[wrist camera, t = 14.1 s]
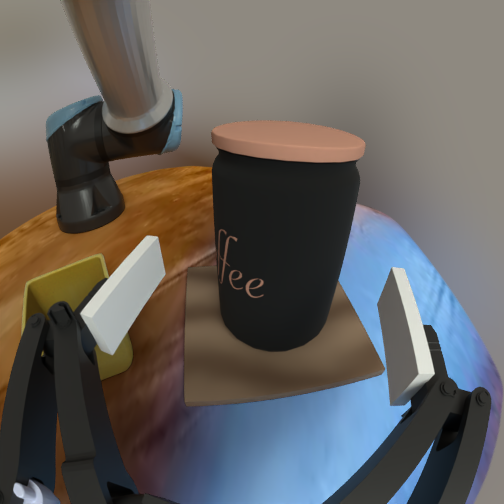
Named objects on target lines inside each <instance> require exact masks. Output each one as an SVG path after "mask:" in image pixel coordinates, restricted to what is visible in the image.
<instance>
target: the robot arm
mask: <svg viewBox="0 0 504 504" xmlns="http://www.w3.org/2000/svg"><path fill="white" fill-rule="evenodd" d="M60 1H61V4H62V6H63V9H64V12H65V14H66V16H67V19H68V21H69V24H70V26H71V29H72V31H73V33H74V35H75V38H76V40H77V42H78V45H79V47H80V49H81V52H82V54H83V56H84V58H85V61H86V63H87V65H88V67H89V69H90V71H91V73H92V76H93V78H94V80H95V82H96V84H97V86H98V88H99V90H100V92H101V94H102V96H103V98H104V100H105V101H103V99H102V98H101V96H99V95H98V96H93V97H90V98H87V99H84V100H81V101H78V102H76V103H73V104H71V105H68V106H66V107H64V108H62V109H60V110H58V111H56V112H54V113H53V114H51V116H49V117H48V119H47V121H46V136H47V138H46V141H47V143H48V149H49V154H50V159H51V165H52V169H53V174H54V178H55V182H56V187H57V211H56V217H57V222H58V225H59V228H60V230H61V231H63V232H66V233H81V232H86V231H89V230H93V229H96V228H98V227H101V226H103V225H105V224H107V223H109V222H111V221H112V220H114V219H115V218H117V217H118V216H119V215H120V214H121V213H122V212H123V210H124V208H125V204H124V199H123V195H122V193H121V191H120V189H119V188H118V186H117V184H116V182H115V180H114V178H113V177H112V175H111V173H110V168H109V161H114V160H119V159H125V158H131V157H138V156H145V155H153V154H158V155H161V154H163V153H167V152H173V151H175V150H177V149H178V147H179V145H180V141H181V131H182V128H181V125H182V93H181V92H180V91H179V90H174V89H171V87H170V85H169V84H168V83H167V82H166V81H165V80H163V79H162V78H160V74H159V68H158V61H157V54H156V47H155V41H154V32H153V24H152V15H151V5H150V0H60ZM102 101H103V102H102ZM164 276H165V269H164V265H163V260H162V255H161V250H160V245H159V239H158V237H155V236H146V237H145V238H144V239H143V240H142V242H141V243H140V244H139V245H138V246H137V247H136V248H135V249H134V250H133V251H132V252H131V254H130V255H129V256H128V257H127V258H126V259H125V260H124V261H123V262H122V264H121V265H120V266H119V267H118V268H117V269H116V270H115V272H114V273H113V274H112V275H111V276H110V277H109V278H104V279H102V280H101V281H99V282H98V283H97V284H96V285H95V286H94V288H93V289H92V291H90V292H89V293H88V296H86V297H85V298H84V299H83V301H82V302H81V303H80V304H79V306H78V307H77V308H76V309H75V311H74V312H73V311H72V309H71V307H70V305H69V304H68V303H67V302H65V301H60V302H57V303H55V304H53V305H52V306H51V307H50V308H49V310H48V313H47V315H48V317H49V318H50V320H47V319H46V317H45V316H44V314H42V313H36V314H34V315H32V316H31V317H30V318H29V319H28V321H27V323H26V325H25V328H24V331H23V334H22V337H21V340H20V343H19V346H18V350H17V353H16V356H15V360H14V364H13V367H12V371H11V375H10V379H9V384H8V388H7V393H6V398H5V403H4V409H3V415H2V422H1V430H0V504H60V501H59V499H58V498H57V497H55V496H54V494H53V493H54V488H55V471H56V469H55V446H56V424H57V412H58V417H59V424H60V430H61V436H62V441H63V446H64V451H65V456H66V460H65V461H64V462H63V463H62V466H61V469H62V475H63V478H64V482H65V486H66V489H67V493H68V496H69V499H70V502H71V504H179V503H176V502H173V501H170V500H167V499H165V498H161V497H157V496H153V495H150V494H146V493H145V494H139V493H138V490H137V488H136V486H135V484H134V481H133V480H132V478H131V477H130V475H129V474H128V473H127V471H126V470H125V467H124V465H123V462H122V459H121V456H120V453H119V450H118V447H117V444H116V440H115V437H114V434H113V430H112V427H111V423H110V419H109V415H108V411H107V407H106V403H105V398H104V394H103V389H102V384H101V379H100V374H99V368H98V362H97V355H96V351H95V349H94V348H95V346H96V345H97V344H98V346H99V348H100V349H101V351H103V352H106V353H108V354H111V355H113V354H114V352H115V351H116V349H117V348H118V346H119V344H120V343H121V341H122V339H123V338H124V336H125V335H126V333H127V332H128V330H129V328H130V327H131V325H132V324H133V322H134V321H135V319H136V317H137V316H138V314H139V313H140V311H141V310H142V308H143V307H144V305H145V304H146V302H147V301H148V299H149V298H150V296H151V295H152V293H153V292H154V290H155V289H156V287H157V286H158V284H159V283H160V281H161V280H162V278H163V277H164ZM377 306H378V311H379V317H380V323H381V329H382V335H383V342H384V349H385V357H386V365H387V375H388V385H389V397H390V406H401V405H405V404H407V403H408V402H409V401H410V400H411V407H410V408H409V409H408V410H407V411H406V412H405V413H404V414H403V415H402V417H403V418H402V419H401V420H400V422H399V423H398V424H397V426H396V427H395V428H394V430H393V431H392V432H391V433H390V435H389V436H388V437H387V438H386V439H385V441H384V442H383V443H382V444H381V445H380V447H379V448H378V449H377V450H376V451H375V452H374V454H373V455H372V456H371V457H370V458H369V459H368V460H367V461H366V462H365V463H364V465H363V466H362V467H361V468H360V469H359V470H358V471H357V472H356V473H355V474H354V475H353V476H352V477H351V478H350V479H349V480H348V481H347V482H346V483H345V484H344V485H343V486H341V487H340V488H339V489H338V490H337V491H336V492H335V493H334V494H333V495H332V496H330V497H329V498H328V499H327V500H326V501H325V502H323V503H322V504H387V503H388V502H389V500H390V499H391V498H392V497H393V496H394V495H395V493H396V492H397V491H398V490H399V489H400V487H401V486H402V485H403V484H404V482H405V481H406V480H407V479H408V477H409V476H410V475H411V473H412V472H413V471H414V469H415V468H416V466H417V465H418V464H419V462H420V461H421V459H422V458H423V456H424V455H425V453H426V452H427V450H428V449H429V447H430V446H431V444H432V443H433V441H434V443H433V446H432V449H431V451H430V454H429V457H428V459H427V462H426V464H425V466H424V469H423V471H422V473H421V476H420V478H419V480H418V482H417V484H416V486H415V489H414V491H413V493H412V495H411V497H410V498H409V500H408V502H407V504H465V502H466V500H467V497H468V495H469V492H470V489H471V487H472V484H473V481H474V478H475V475H476V472H477V468H478V465H479V461H480V458H481V454H482V450H483V446H484V441H485V437H486V432H487V427H488V421H489V415H490V409H491V396H490V394H489V392H488V391H487V390H486V389H485V388H483V387H478V388H475V389H474V390H473V391H472V392H468V391H465V390H461V389H459V388H458V387H457V384H456V383H455V382H454V381H453V380H452V379H451V378H449V377H448V375H447V370H446V366H445V362H444V358H443V355H442V351H441V347H440V344H439V340H438V337H437V333H436V332H435V330H434V329H433V328H432V326H431V325H423V324H422V321H421V317H420V314H419V311H418V308H417V305H416V301H415V298H414V295H413V292H412V289H411V287H410V284H409V281H408V278H407V275H406V273H405V270H404V269H403V268H395V267H392V268H391V271H390V273H389V276H388V279H387V281H386V284H385V286H384V289H383V291H382V294H381V296H380V299H379V301H378V304H377ZM42 351H43V352H44V353H43V356H41V355H42ZM434 439H435V440H434Z"/></svg>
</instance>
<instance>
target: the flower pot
mask: <svg viewBox="0 0 504 504" xmlns="http://www.w3.org/2000/svg"><path fill="white" fill-rule="evenodd" d="M104 278H109V275H108V271H107V268H106V264H105V260H104V256H103V255H102V254H101V253H100V254H96V255H93V256H90V257H88V258H85V259H82V260H80V261H77V262H75V263H72V264H70V265H67V266H64V267H62V268H59V269H57V270H54V271H51V272H49V273H46V274H44V275H41V276H39V277H36V278H34V279H32V280H30V281H27V283H26V286H25V291H24V301H23V315H22V332H21V337H22V334H23V331H24V328H25V325H26V323H27V321H28V319H29V318H30V317H31V316H32V315H34V314H36V313H42V314H44V316H45V317H46V319H47V320H50V318H49V317H48V315H47V313H48V310H49V308H50V307H51V306H52V305H53V304H55V303H57V302H60V301H65V302H67V303H68V304H69V305H70V307H71V309H72V311H73V312H74V311H75V309H76V308H77V307H78V306H79V304H80V303H81V302H82V301H83V299H84V298H85V297H86V296H88V293H89V292H90V291H92V289H93V288H94V286H95V285H96V284H97V283H98V282H99V281H101V280H102V279H104ZM94 349H95V351H96V355H97V362H98V368H99V374H100V379H101V380H103V379H106V378H108V377H111V376H114V375H116V374H119V373H122V372H124V371H126V370H127V369H128V368H129V366H130V365H131V363H132V359H133V349H132V344H131V341H130V338H129V334H128V332H127V333H126V335H125V336H124V338H123V339H122V341H121V343H120V344H119V346H118V348H117V349H116V351H115V352H114V354H113V355H111V354H108V353H106V352H103V351H101V349H100V348H99V346H98V344H97V345H96V346H95V348H94ZM43 353H44V352H43V351H42V355H41V356H43Z"/></svg>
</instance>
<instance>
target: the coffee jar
mask: <svg viewBox="0 0 504 504" xmlns="http://www.w3.org/2000/svg"><path fill="white" fill-rule="evenodd" d="M211 135H212V143H213V144H214V145H215V146H216V147H217V149H218V150H219V154H218V156H217V157H216V158H215V161H214V163H213V167H212V185H213V208H214V227H215V244H216V260H217V274H218V287H219V300H220V312H221V315H222V318H223V321H224V324H225V326H226V327H227V328H228V329H229V330H230V332H231V333H232V334H233V335H234V336H235V337H236V338H237V339H238V340H240V341H242V342H244V343H245V344H247V345H249V346H251V347H252V348H255V349H259V350H263V351H268V352H283V351H288V350H292V349H295V348H298V347H301V346H304V345H305V344H307V343H308V342H309V341H311V340H312V339H313V338H315V337H316V336H317V335H319V333H320V331H321V330H322V328H323V327H324V325H325V323H326V320H327V317H328V314H329V311H330V307H331V304H332V300H333V297H334V293H335V290H336V286H337V283H338V279H339V275H340V271H341V268H342V264H343V260H344V256H345V252H346V248H347V243H348V239H349V235H350V230H351V226H352V221H353V216H354V212H355V207H356V202H357V196H358V191H359V185H360V176H359V172H358V169H357V167H356V162H357V161H358V160H359V159H360V158H361V157H362V156H363V155H364V151H365V143H364V141H363V140H362V139H361V138H359V137H357V136H355V135H353V134H350V133H347V132H344V131H341V130H338V129H334V128H329V127H325V126H319V125H314V124H307V123H298V122H289V121H243V122H234V123H228V124H223V125H220V126H218V127H215V128H214V129H213V130H212V132H211Z"/></svg>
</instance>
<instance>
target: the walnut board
mask: <svg viewBox="0 0 504 504" xmlns="http://www.w3.org/2000/svg"><path fill="white" fill-rule="evenodd" d="M384 370H385V368H384V366H383V364H382V362H381V359H380V357H379V355H378V353H377V352H376V350H375V348H374V346H373V344H372V342H371V340H370V338H369V336H368V334H367V332H366V330H365V328H364V326H363V325H362V323H361V321H360V319H359V317H358V315H357V313H356V312H355V310H354V308H353V306H352V304H351V302H350V301H349V299H348V297H347V295H346V293H345V292H344V290H343V288H342V286H341V285H340V283H339V281H338V283H337V286H336V290H335V293H334V297H333V300H332V304H331V307H330V311H329V314H328V317H327V320H326V323H325V325H324V327H323V328H322V330H321V331H320V333H319V335H317V336H316V337H315V338H313V339H312V340H311V341H309V342H308V343H307V344H305V345H304V346H301V347H298V348H295V349H292V350H288V351H283V352H268V351H263V350H259V349H255V348H252V347H251V346H249V345H247V344H245V343H244V342H242V341H240V340H238V339H237V338H236V337H235V336H234V335H233V334H232V333H231V332H230V330H229V329H228V328H227V327H226V326H225V324H224V321H223V318H222V315H221V312H220V300H219V287H218V274H217V266H204V267H189V268H188V273H187V290H186V311H185V345H184V402H185V404H186V406H211V405H225V404H237V403H247V402H255V401H263V400H271V399H277V398H284V397H290V396H295V395H301V394H306V393H311V392H316V391H321V390H325V389H330V388H334V387H338V386H342V385H346V384H350V383H354V382H358V381H361V380H365V379H368V378H372V377H375V376H378V375H381V374H382V373H383V372H384Z"/></svg>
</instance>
